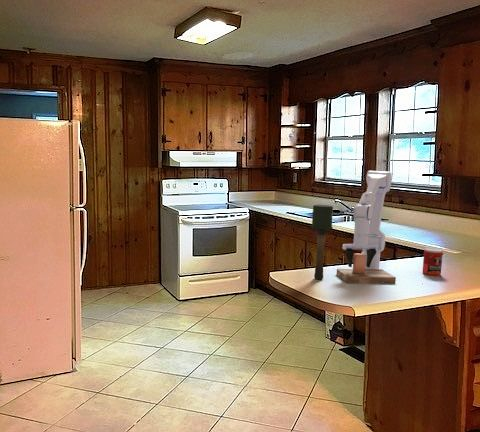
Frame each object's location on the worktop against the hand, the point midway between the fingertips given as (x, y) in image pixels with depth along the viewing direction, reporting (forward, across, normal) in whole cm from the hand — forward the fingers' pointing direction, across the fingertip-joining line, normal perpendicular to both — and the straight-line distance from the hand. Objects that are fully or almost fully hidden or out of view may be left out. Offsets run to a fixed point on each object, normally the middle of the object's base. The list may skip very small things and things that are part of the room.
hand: (359, 266), depth 215 cm
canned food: (+5, +37, +10) cm, 39 cm away
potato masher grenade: (+5, -17, -1) cm, 18 cm away
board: (+5, +3, 0) cm, 6 cm away
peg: (+5, 0, 0) cm, 5 cm away
